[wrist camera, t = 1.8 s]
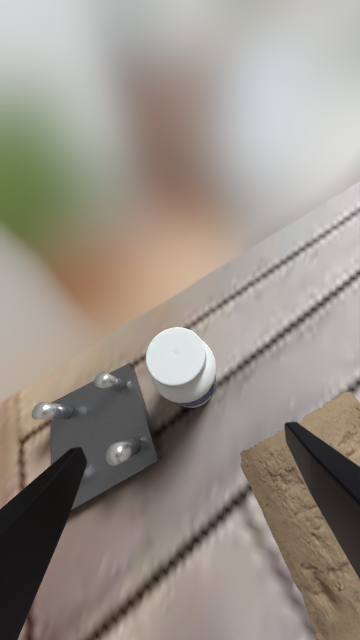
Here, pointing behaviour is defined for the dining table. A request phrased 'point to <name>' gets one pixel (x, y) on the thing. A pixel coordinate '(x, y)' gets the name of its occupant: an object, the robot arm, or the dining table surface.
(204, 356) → the pill bottle
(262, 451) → the clay tablet
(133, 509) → the dining table surface
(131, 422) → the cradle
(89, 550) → the dining table surface
